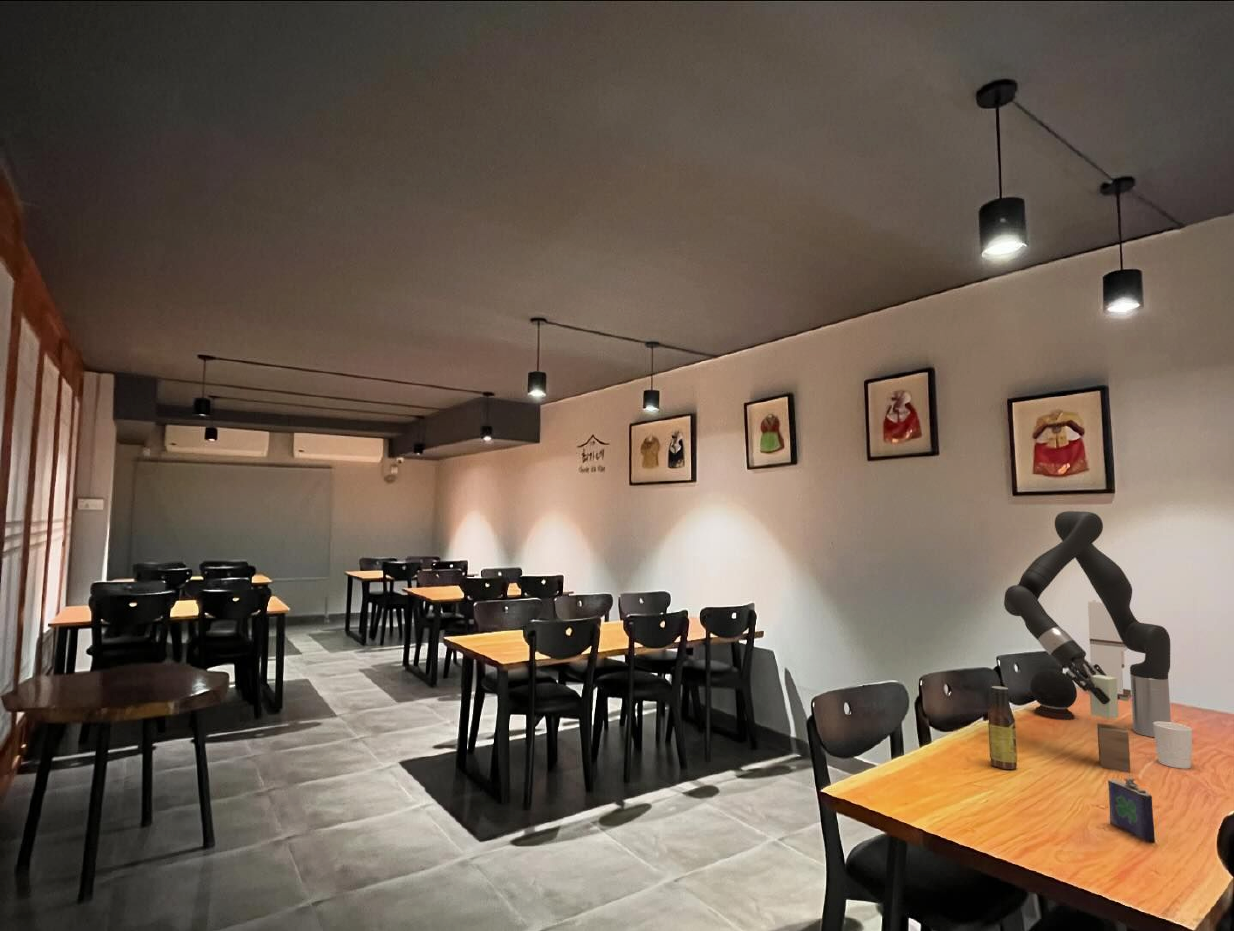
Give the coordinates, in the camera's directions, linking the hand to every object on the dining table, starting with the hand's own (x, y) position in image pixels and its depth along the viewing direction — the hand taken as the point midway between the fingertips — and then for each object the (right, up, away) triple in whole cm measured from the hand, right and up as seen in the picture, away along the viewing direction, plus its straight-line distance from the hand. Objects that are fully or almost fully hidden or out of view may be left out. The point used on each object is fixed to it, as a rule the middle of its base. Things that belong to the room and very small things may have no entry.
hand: (1112, 701), depth 175 cm
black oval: (+16, -22, +48) cm, 55 cm away
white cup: (+18, -18, +1) cm, 25 cm away
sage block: (-1, -4, +1) cm, 5 cm away
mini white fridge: (+57, -25, +77) cm, 99 cm away
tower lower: (0, -17, -1) cm, 17 cm away
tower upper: (0, -12, -1) cm, 12 cm away
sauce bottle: (-30, -16, -2) cm, 34 cm away
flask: (-25, -13, -40) cm, 49 cm away
